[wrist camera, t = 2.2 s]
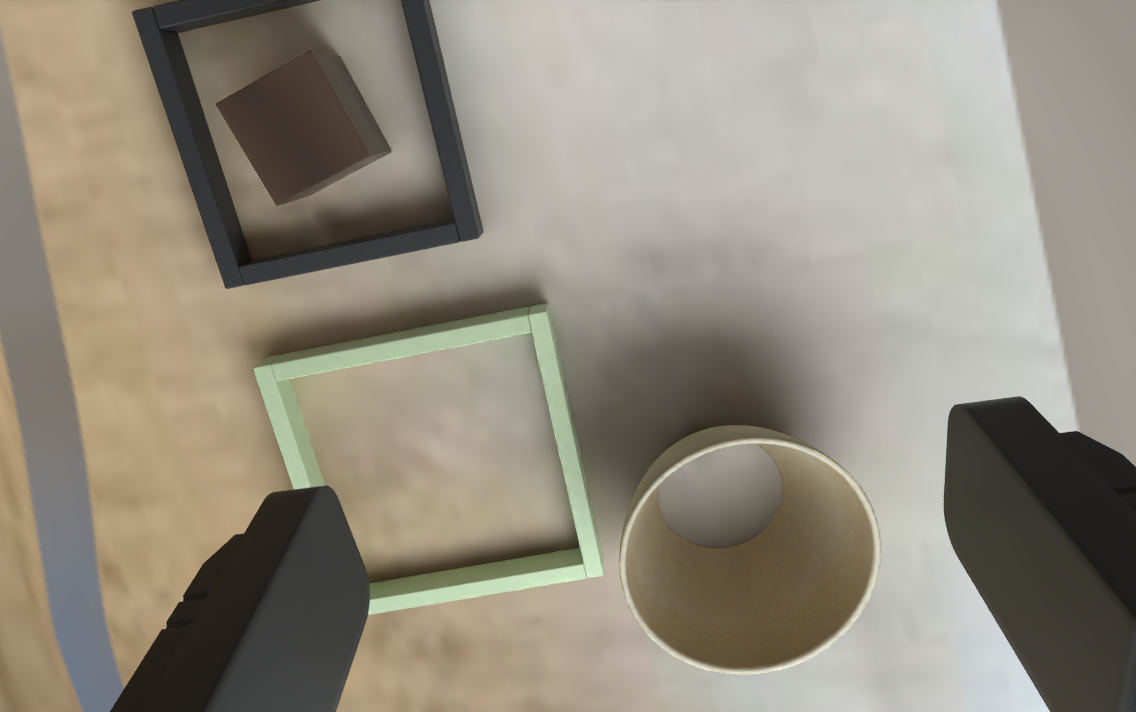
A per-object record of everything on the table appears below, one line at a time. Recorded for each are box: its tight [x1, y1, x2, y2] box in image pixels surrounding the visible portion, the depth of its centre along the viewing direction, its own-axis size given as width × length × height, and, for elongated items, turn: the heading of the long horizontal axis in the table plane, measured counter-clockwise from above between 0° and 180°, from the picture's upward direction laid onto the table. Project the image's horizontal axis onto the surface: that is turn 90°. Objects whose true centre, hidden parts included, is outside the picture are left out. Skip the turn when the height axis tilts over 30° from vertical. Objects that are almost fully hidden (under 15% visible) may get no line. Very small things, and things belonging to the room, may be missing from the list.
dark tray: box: [132, 0, 483, 289], centre depth 31 cm, size 11×11×3 cm
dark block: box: [216, 50, 392, 206], centre depth 30 cm, size 4×4×4 cm
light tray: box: [253, 303, 604, 615], centre depth 35 cm, size 13×13×3 cm
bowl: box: [619, 425, 881, 674], centre depth 33 cm, size 10×10×7 cm
